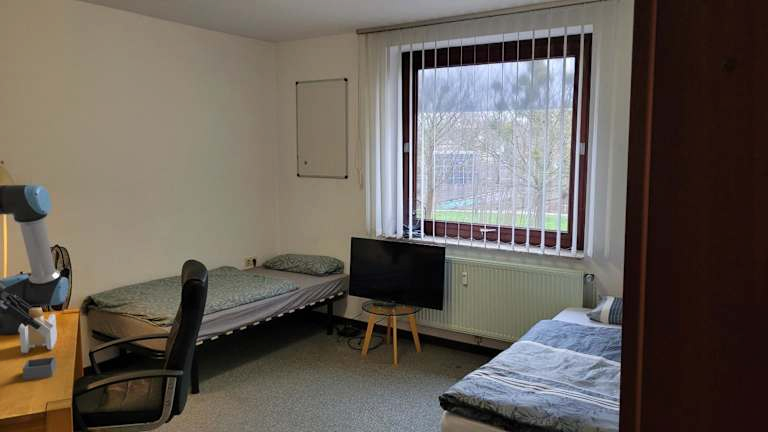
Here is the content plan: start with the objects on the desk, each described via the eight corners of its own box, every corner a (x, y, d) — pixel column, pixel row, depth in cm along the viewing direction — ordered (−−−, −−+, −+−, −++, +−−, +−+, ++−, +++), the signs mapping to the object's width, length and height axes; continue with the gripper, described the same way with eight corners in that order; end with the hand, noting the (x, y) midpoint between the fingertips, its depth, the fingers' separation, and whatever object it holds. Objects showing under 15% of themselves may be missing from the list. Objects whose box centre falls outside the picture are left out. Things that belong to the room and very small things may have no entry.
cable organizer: (52, 352, 218) (49, 323, 217) (19, 356, 215) (17, 326, 213) (57, 340, 232) (55, 312, 231) (27, 343, 228) (25, 315, 227)
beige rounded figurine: (30, 340, 198) (28, 307, 196) (47, 338, 199) (44, 306, 198) (27, 345, 193) (25, 311, 192) (44, 343, 195) (42, 310, 193)
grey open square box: (28, 371, 200) (27, 360, 200) (56, 367, 203) (55, 356, 203) (23, 380, 192) (22, 368, 192) (52, 376, 195) (51, 365, 195)
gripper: (-13, 290, 197) (45, 331, 205) (-28, 303, 180) (36, 347, 188) (4, 274, 198) (61, 315, 206) (-10, 285, 182) (53, 329, 190)
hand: (49, 330), depth 197 cm, fingers closed on beige rounded figurine, 5 cm apart
